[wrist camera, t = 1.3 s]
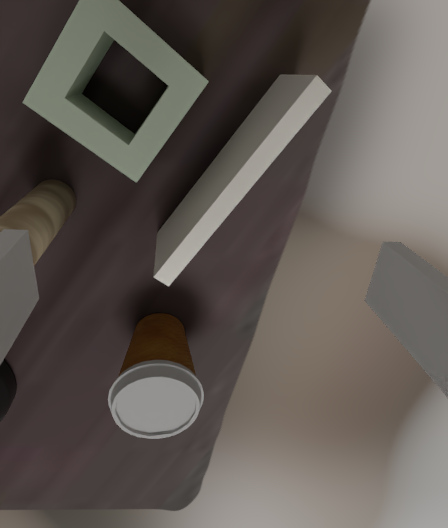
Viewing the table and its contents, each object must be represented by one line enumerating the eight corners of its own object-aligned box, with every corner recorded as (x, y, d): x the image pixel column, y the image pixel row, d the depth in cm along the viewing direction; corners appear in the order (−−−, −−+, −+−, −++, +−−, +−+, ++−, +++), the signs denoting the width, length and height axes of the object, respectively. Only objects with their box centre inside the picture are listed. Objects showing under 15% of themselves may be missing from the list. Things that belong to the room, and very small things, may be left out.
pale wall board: (157, 232, 40) (153, 277, 32) (280, 74, 35) (317, 75, 26) (169, 240, 41) (168, 286, 32) (291, 86, 35) (331, 91, 26)
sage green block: (46, 97, 33) (22, 102, 28) (106, -7, 30) (92, -24, 25) (141, 166, 37) (136, 182, 31) (203, 80, 34) (208, 81, 28)
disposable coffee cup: (109, 349, 47) (92, 429, 36) (139, 290, 43) (128, 361, 33) (177, 370, 50) (179, 450, 39) (210, 317, 47) (221, 389, 36)
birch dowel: (38, 217, 38) (-40, 303, 24) (30, 179, 36) (-59, 247, 22) (78, 217, 39) (25, 301, 24) (73, 179, 37) (11, 246, 23)
